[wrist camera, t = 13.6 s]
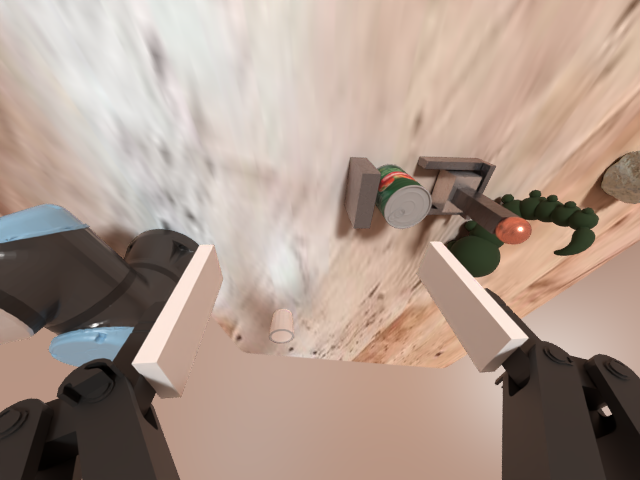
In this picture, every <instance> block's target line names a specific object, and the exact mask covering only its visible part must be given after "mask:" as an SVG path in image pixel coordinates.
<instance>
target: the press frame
mask: <svg viewBox="0 0 640 480" xmlns="http://www.w3.org/2000/svg"><path fill="white" fill-rule="evenodd" d="M418 165H420V166H421V167H423V168H424V169H452V170H469V171H471V172H473V173H475V174H477V175H479V176H481V177H482V179H481V181H480V183H479V185H478V187H477V189H476V191H478V192H479V193H481V194H483V192H484V190H485V188H486V186H487V184H488V182H489V180H490V178H491V176H492V174H493V172H494V170H495V168H496V166H495V165H492V164H490V163H488V162H485V161H483V160H481V159H478V158H450V157H420V158H419V161H418ZM380 178H381V173H380V172H379V171H378V170H377V169H376V168H375V167H374V166H373V164H372V163H371V162H370V161H369V160H368V159H367V158H356V157H351V158H350V166H349V174H348V182H347V190H346V198H345V208H346V211H347V213H348V216H349V218H350V221H351V223H352V226H353V228H370V225H371V220H372V216H373V211H374V206H375V201H376V197H377V192H378V187H379V182H380ZM427 215H460V216H462V217H463V218H464V219H470V217H469V216H467V215H466V214H465V213H464V212H441V211H440V210H439V209H438V208H437V207H435V206H434V205H433V204H431V208H430V210H429V212H428V214H427Z"/></svg>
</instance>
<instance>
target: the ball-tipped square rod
mask: <svg viewBox="0 0 640 480" xmlns="http://www.w3.org/2000/svg"><path fill="white" fill-rule="evenodd" d="M481 179H482V177H481V176H479V175H477V174H475V173H473V172H471V171H469V170H452V169H441V170H440V172H439V175H438V178H437V181H436V184H435V186H434V189H433V192H432V195H431V199H432V204H433V205H434V206H435V207H437V208H438V209H439V210H440V211H441V212H464V213H465V214H466V215H467V216H469V217H470V218H471V219H473V220H474V221H475V222H476V223H478V224H479V225H480V226H482V227H483V228H484V229H486V230H487V231H488V232H489V233H491V234H496V236H497V238H498V239H499V240H500V241H502V242H504V243H507V244H519V243H522V242H524V241H526V240H527V239H528V238H529V237H530V235H531V232H532V229H531V225H530V224H529V223H528V222H527V221H526V220H525V219H523V218H520V217H519V216H518V215H516V214H514V213H513V212H511V211H509V210H508V209H506V208H504V207H503V206H501V205H499V204H498V203H496V202H494V201H493V200H491V199H489V198H488V197H486V196H484V195H483V194H481V193H479V192H478V191H476V189H477V187H478V185H479V183H480V181H481Z"/></svg>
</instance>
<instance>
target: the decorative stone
mask: <svg viewBox="0 0 640 480" xmlns="http://www.w3.org/2000/svg"><path fill="white" fill-rule="evenodd" d="M601 188H602V189H603V190H604V191H605V192H606V193H607V194H608V195H610V196H613V197H614V198H616V199H618V200H620V201H622V202H624V203H632V204H637V203H640V151H636V152H630V153H628V154H626V155H624V156H623V157H622V158H621V159H620V160H619V161H618V162H616V163H615V164H614V165H612V166H611V167H609V168H608V169H607V171H606V173H605V174H604V177H603V181H602V184H601Z"/></svg>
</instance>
